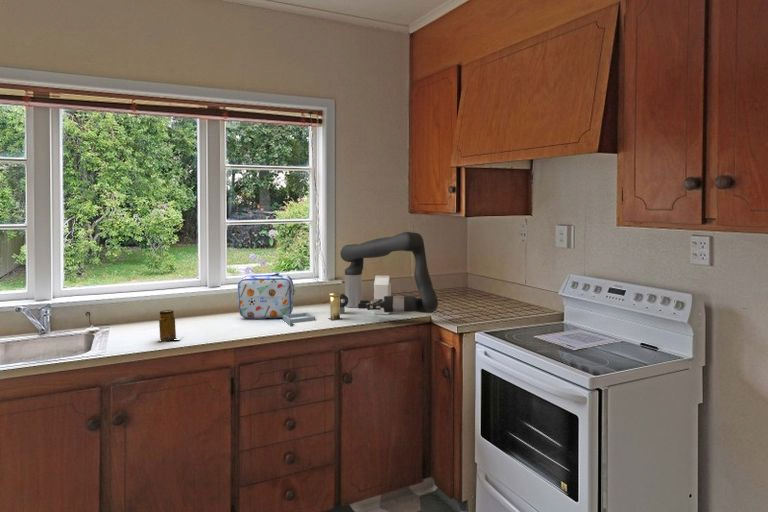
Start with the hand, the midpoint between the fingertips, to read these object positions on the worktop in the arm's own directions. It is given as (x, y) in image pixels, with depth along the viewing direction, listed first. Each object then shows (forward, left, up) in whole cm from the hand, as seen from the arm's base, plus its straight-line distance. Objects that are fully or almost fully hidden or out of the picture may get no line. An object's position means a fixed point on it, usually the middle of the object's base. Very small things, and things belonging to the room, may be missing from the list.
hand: (359, 304), depth 242 cm
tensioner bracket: (-10, -7, -8) cm, 14 cm away
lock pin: (-6, -10, -7) cm, 13 cm away
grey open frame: (-14, -25, -8) cm, 29 cm away
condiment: (-9, -81, -9) cm, 82 cm away
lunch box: (-32, -35, -9) cm, 48 cm away
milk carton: (-13, +18, -8) cm, 24 cm away
